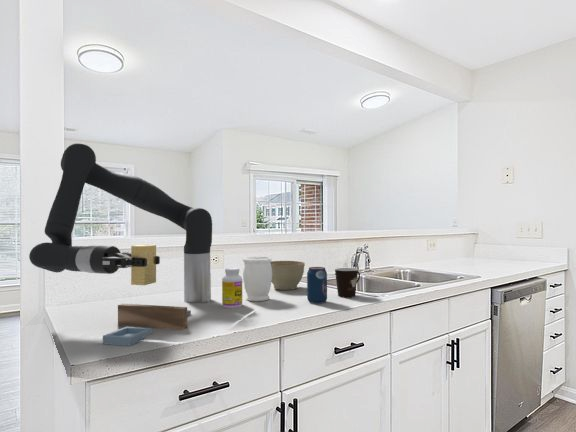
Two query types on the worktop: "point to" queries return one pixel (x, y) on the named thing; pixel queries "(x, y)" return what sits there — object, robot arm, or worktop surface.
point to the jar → (257, 278)
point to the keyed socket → (126, 336)
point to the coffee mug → (346, 281)
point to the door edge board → (152, 316)
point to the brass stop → (144, 273)
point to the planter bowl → (286, 274)
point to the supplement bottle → (232, 288)
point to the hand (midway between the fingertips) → (152, 261)
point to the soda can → (317, 285)
